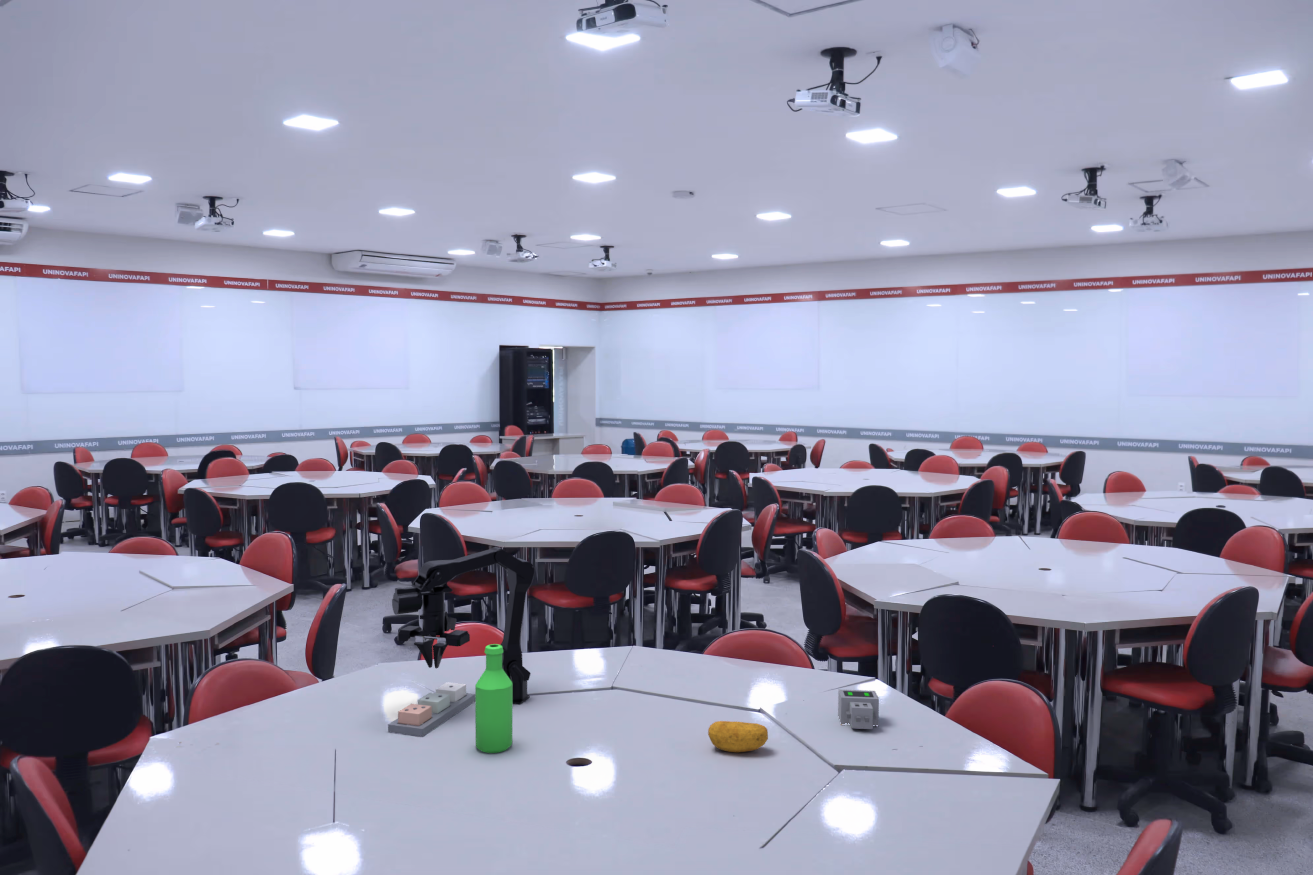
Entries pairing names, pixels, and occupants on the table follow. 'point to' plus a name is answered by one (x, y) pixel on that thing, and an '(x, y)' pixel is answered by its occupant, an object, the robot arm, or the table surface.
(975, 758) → the table surface
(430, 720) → the board
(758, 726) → the potato
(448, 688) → the tile
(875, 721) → the toy
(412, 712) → the tile
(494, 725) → the bottle
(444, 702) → the tile
